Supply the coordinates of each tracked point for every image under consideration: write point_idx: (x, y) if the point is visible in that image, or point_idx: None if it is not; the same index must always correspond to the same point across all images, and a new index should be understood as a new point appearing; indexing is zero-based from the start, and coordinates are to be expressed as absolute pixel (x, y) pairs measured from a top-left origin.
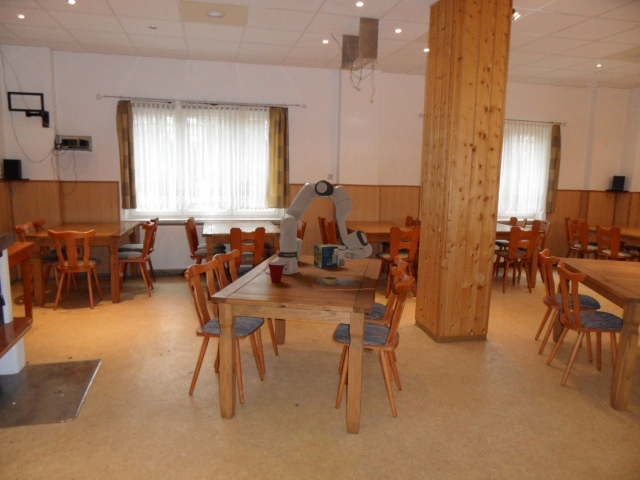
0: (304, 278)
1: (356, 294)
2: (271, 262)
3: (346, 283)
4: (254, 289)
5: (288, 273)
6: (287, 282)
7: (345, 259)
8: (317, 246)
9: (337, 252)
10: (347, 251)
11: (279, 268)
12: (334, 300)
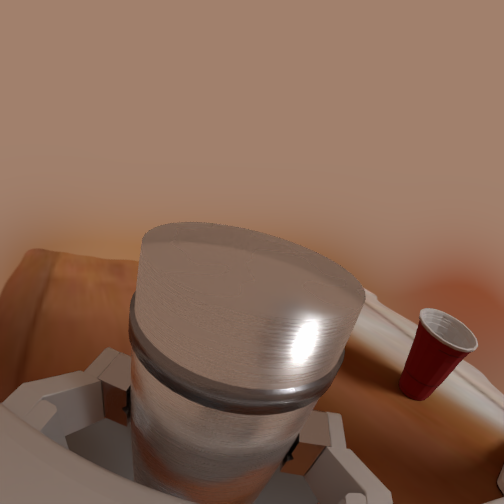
0: (414, 486)
1: (37, 322)
2: (471, 335)
3: (98, 461)
4: (359, 319)
5: (501, 474)
6: (386, 400)
7: (132, 458)
8: None
9: (339, 436)
10: (121, 491)
11: (416, 332)
12: (108, 278)
